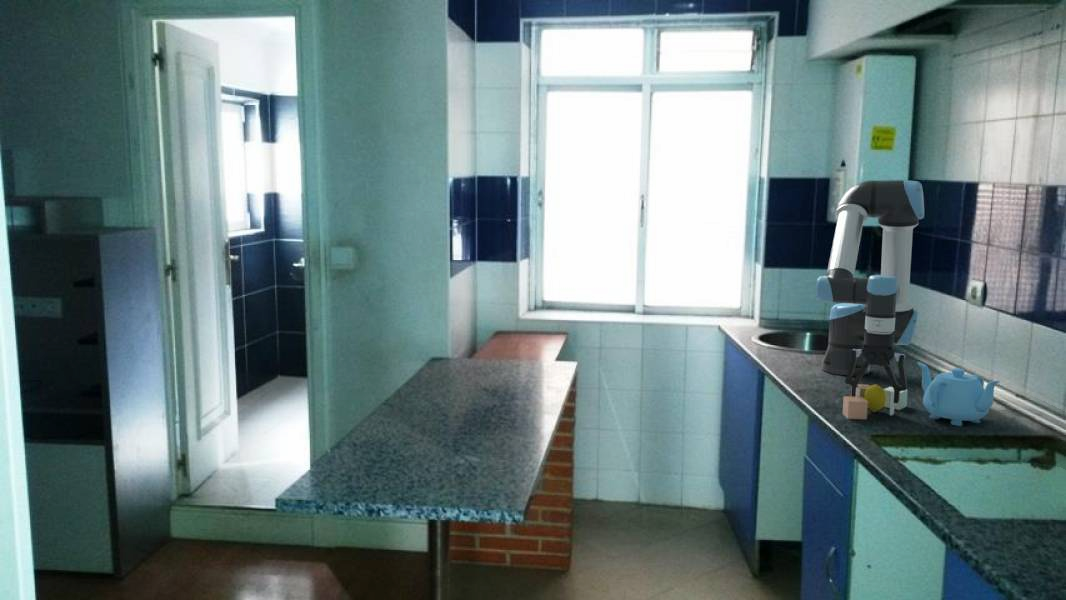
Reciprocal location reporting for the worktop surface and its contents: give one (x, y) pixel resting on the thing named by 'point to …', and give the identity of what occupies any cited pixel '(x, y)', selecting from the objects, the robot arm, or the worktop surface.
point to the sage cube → (902, 399)
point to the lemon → (875, 397)
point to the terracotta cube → (855, 407)
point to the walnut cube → (862, 389)
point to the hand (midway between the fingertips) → (874, 411)
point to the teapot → (956, 395)
